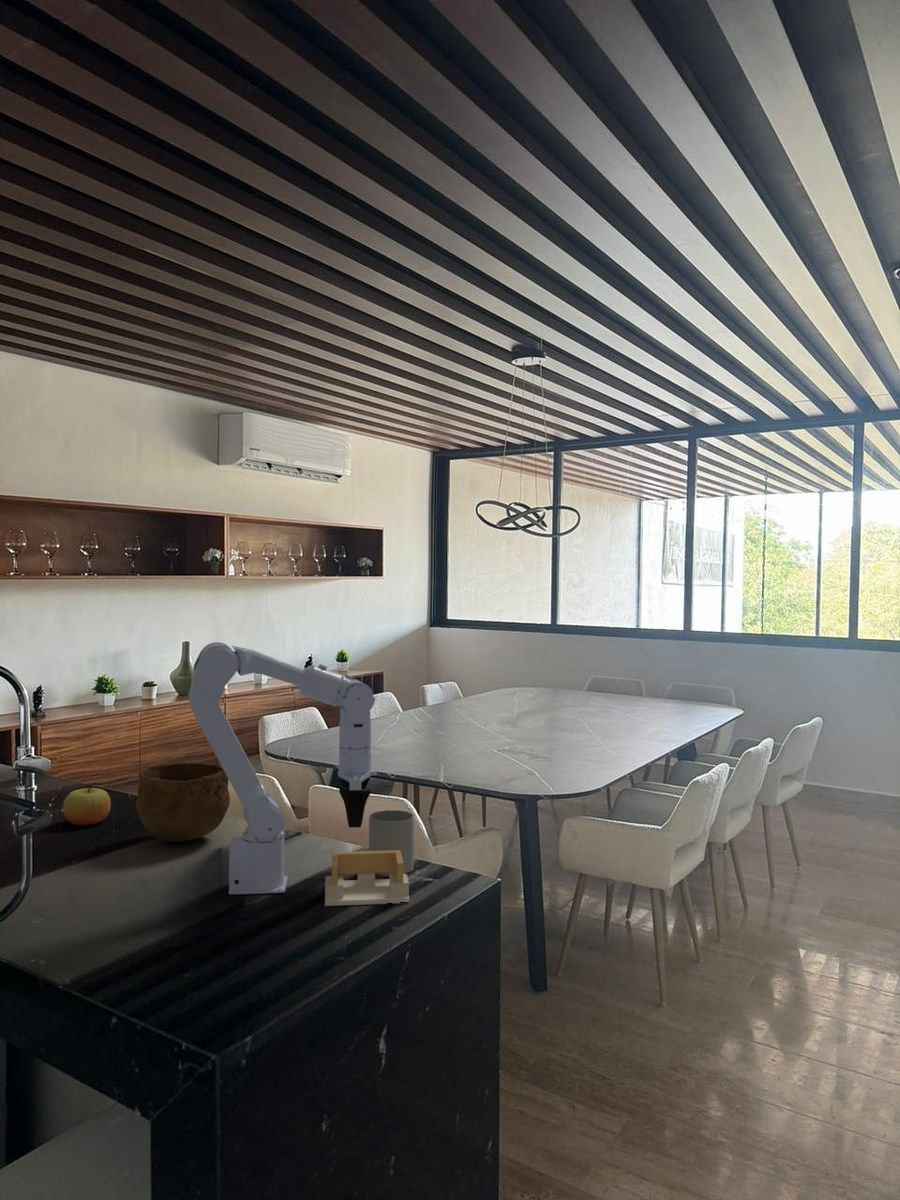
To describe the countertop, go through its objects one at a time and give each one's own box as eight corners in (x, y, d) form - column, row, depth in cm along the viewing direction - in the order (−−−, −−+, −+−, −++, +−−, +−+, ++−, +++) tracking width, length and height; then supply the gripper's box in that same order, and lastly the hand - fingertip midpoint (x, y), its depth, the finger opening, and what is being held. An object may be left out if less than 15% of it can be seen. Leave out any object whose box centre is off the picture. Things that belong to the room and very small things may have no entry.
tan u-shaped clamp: (403, 883, 146) (403, 863, 146) (331, 885, 144) (331, 865, 144) (400, 869, 153) (400, 850, 153) (332, 871, 152) (332, 852, 152)
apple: (99, 829, 189) (99, 792, 189) (55, 828, 189) (55, 792, 189) (117, 817, 198) (117, 782, 198) (75, 817, 199) (75, 782, 199)
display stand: (409, 902, 145) (409, 885, 145) (324, 905, 143) (325, 887, 143) (404, 883, 155) (405, 866, 155) (326, 885, 153) (326, 868, 153)
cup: (406, 877, 158) (407, 822, 158) (363, 874, 160) (363, 820, 160) (417, 863, 166) (417, 811, 166) (376, 860, 168) (376, 809, 168)
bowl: (249, 836, 184) (249, 766, 183) (178, 859, 168) (178, 782, 168) (189, 823, 194) (189, 757, 194) (117, 843, 178) (117, 771, 178)
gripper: (378, 753, 150) (378, 831, 150) (375, 739, 165) (375, 810, 165) (337, 754, 149) (337, 832, 150) (338, 740, 164) (337, 811, 164)
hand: (354, 821), depth 157 cm, fingers open, 7 cm apart
